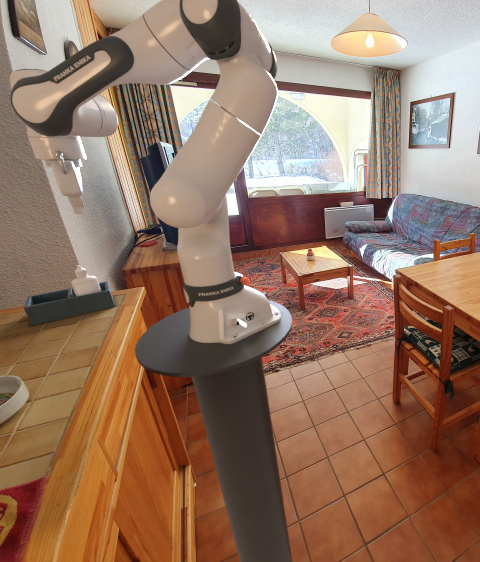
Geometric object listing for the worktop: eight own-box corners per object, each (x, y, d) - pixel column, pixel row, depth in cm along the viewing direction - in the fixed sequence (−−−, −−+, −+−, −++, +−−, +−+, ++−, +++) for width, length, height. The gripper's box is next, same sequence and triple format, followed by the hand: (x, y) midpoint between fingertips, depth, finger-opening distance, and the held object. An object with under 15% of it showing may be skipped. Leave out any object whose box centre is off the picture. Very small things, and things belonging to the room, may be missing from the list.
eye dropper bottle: (102, 304, 92) (88, 266, 87) (77, 308, 89) (62, 269, 85) (105, 298, 95) (93, 261, 91) (82, 301, 93) (67, 264, 88)
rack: (112, 296, 99) (107, 281, 97) (115, 306, 93) (109, 290, 90) (35, 313, 88) (27, 296, 86) (31, 325, 82) (23, 307, 80)
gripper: (77, 152, 68) (98, 215, 73) (77, 151, 82) (94, 204, 87) (36, 151, 64) (61, 218, 69) (44, 151, 78) (64, 206, 83)
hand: (80, 210), depth 78 cm, fingers open, 8 cm apart
